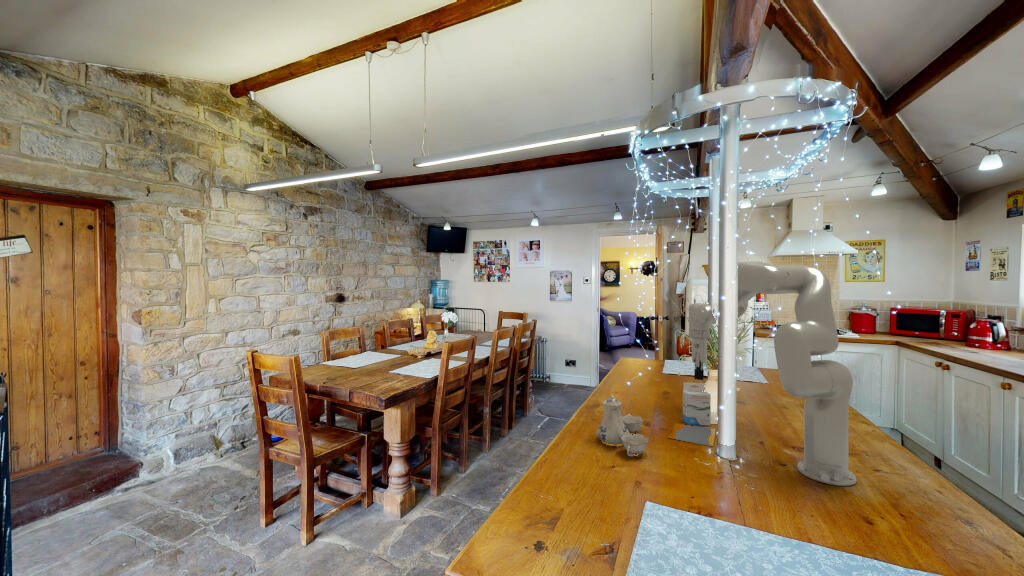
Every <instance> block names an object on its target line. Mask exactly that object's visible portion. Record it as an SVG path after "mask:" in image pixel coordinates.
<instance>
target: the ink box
mask: <svg viewBox="0 0 1024 576" xmlns="http://www.w3.org/2000/svg"><path fill="white" fill-rule="evenodd" d="M704 385H705V387H704ZM693 386H695V387H693ZM704 390H705V391H706V383H705V382H683V389H682V421H683V423H684V424H687V425H695V426H711V415H712V414H711V412H712V411H711V407H712V406H711V402H712V401H711V399H712V398H711V393H709V392H707V391H706V392H704ZM702 391H703V392H702Z"/></svg>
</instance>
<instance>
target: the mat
mask: <svg viewBox="0 0 1024 576" xmlns="http://www.w3.org/2000/svg"><path fill="white" fill-rule="evenodd" d="M684 427H685V428H682V429H679V431H678V430H677V431H676V436H675V439H676V440H675V441H678V440H681V441H680V442H683V441H686V442H685V443H688V442H691V443H690V444H694V443H695V444H694V445H699V444H700V446H704V445H708V446H707V447H710V444H709V441H708V440H709V437H710V435H711V428H712V427H708V426H707V427H706V426H702V425H693V426H689V427H688V426H687V425H686V426H684ZM714 429H715V436H717V432H716V429H717V428H714ZM707 439H708V440H707Z"/></svg>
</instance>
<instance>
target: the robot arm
mask: <svg viewBox="0 0 1024 576" xmlns="http://www.w3.org/2000/svg"><path fill="white" fill-rule="evenodd" d="M757 294H764V295H780V294H782V295H783V294H784V295H786V294H797V297H796V300H795V303H794V313H795V321H792V322H791V321H790V322H786V323H783V324H781V325H779V327H778V328H777V330H775V333H774V337H773V346H774V353H775V359H776V366H777V372H778V378H779V382H780V384H781V386H782V388H783V390H784V391H785V393H787V394H788V395H790V396H791V397H794V398H797V399H805V401H804V404H803V406H804V407H803V460H800V461H798V462H797V470H798V471H799V473H800V474H802V475H804V476H805V477H807V478H810V479H812V480H813V481H816V482H820V483H823V484H827V485H833V486H837V487H838V486H840V487H841V486H842V487H847V486H848V487H849V486H854V485H855V484H856V483H857V476H856V474H855V473H853V472H852V471H851V470H849V410H850V408H849V406H850V400H851V394H852V390H853V388H854V387H853V386H854V383H853V375H852V373H851V372H850V370H849V369H848V367H846V365H844V364H843V363H841V362H838V361H836V360H832V359H830V360H829V359H817V360H812V357H814V356H824V355H829V354H833V353H834V352H835V351H837V350H838V347H839V342H840V341H839V335H838V329H837V324H836V319H835V313H834V309H833V303H832V288H831V283H830V280H829V278H828V276H827V274H825V273H824V272H823V271H822V270H821V269H819V268H817V267H814V266H810V265H805V264H804V265H802V264H801V265H800V264H785V265H783V264H781V265H779V264H778V265H771V264H770V263H768V262H764V261H738V319H739V318H740V317H742V316H743V315H744V314H745V313H746V312H747V309H748V306H749V301H751V299H753V298H754V297H755V296H757ZM710 325H716V320H715V318H714V316H713V314H712V310H711V305H710V304H707V303H701V302H700V303H697V302H695V303H691V304H689V306H688V338H689V339H691V361H692V363H693V364H694V370H693V371H694V378H693V379H695V380H699V381H703V380H704V379H705V377H704V376H705V373H704V372H705V370H704V365H705V364H706V363H708V360H707V356H708V340H709V339H710Z"/></svg>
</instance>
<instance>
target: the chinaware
mask: <svg viewBox="0 0 1024 576" xmlns="http://www.w3.org/2000/svg"><path fill="white" fill-rule="evenodd" d="M602 404H603V411H604V412H603V417H602V421H601V423H600V424H599V426H598V428H597V429H596V433H595V434H596V436H597V437H598V438H599V439H600V440H602V441H603V442H605V443H608V444H614V445H617V444H623V447H624V449H625V450H626V452H627V453H626V454H627V457H628V456H629V457H634V456H633V454H635V455H637V454H642V453H644V452H645V450H646V448H647V445H648V443H649V441H650V438H649V437H645V436H644V435H643V434H641V433H638V431H640V429H641V428H642V425H643V423H645V420H643V417H641V416H639V415H635V416H634V415H632V414H630V413H629V414H625V415H624V416H622V411H621V410H622V409H621V408H622V404H623V402H622V401H620V400H618V399H617V398H616V397H615V396H614V394H611V395H610V396H609V398H607V399H605V400H603V401H602ZM629 432H630V433H635V432H636V434H633V435H632V434H630V433H629Z"/></svg>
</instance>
